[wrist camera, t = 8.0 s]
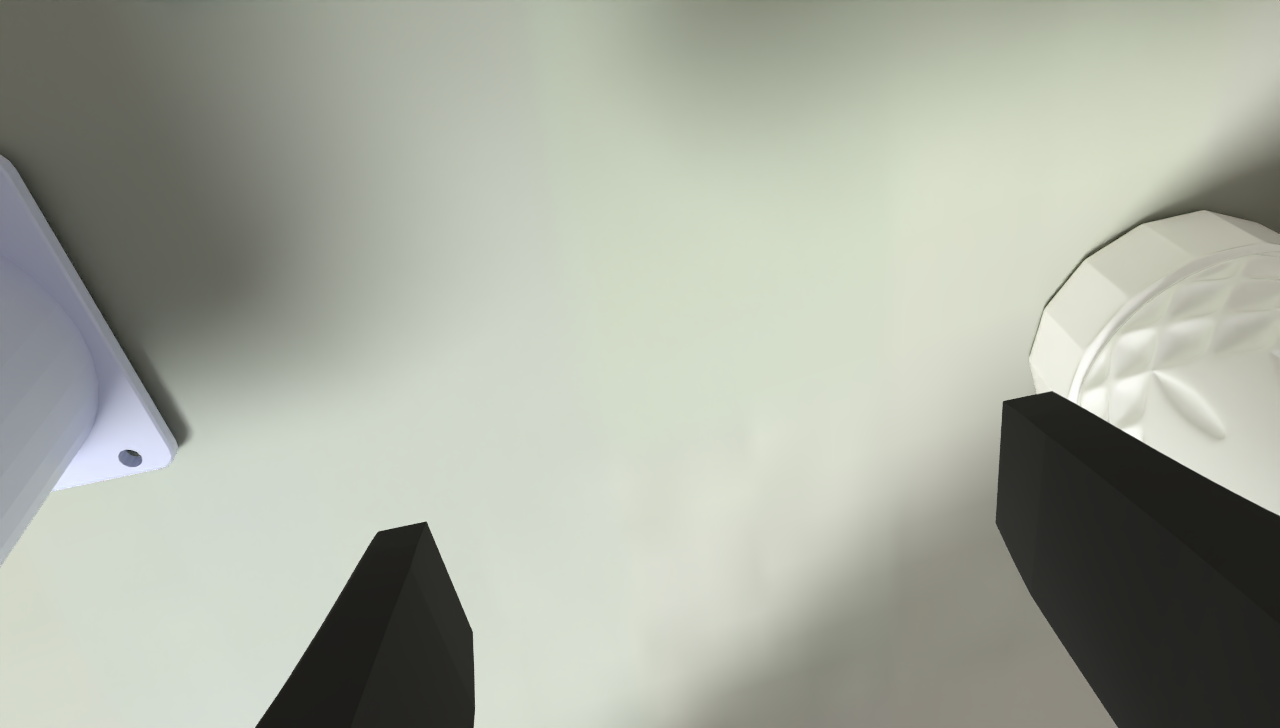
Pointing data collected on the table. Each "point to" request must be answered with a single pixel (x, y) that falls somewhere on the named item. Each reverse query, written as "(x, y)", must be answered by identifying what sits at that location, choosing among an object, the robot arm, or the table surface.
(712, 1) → the table surface
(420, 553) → the robot arm
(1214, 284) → the white cup
